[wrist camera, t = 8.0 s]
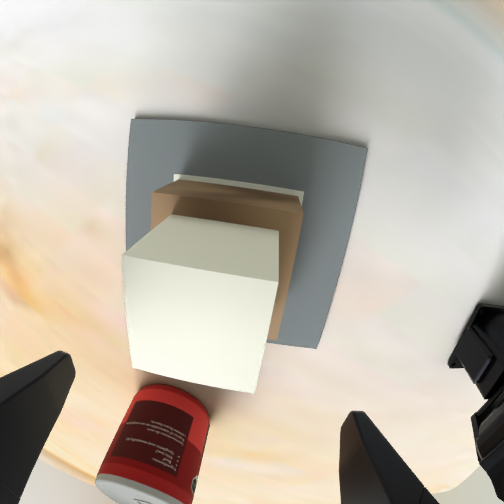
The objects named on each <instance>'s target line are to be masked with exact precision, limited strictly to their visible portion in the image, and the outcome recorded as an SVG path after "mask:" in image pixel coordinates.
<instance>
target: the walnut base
mask: <svg viewBox="0 0 504 504" xmlns="http://www.w3.org/2000/svg"><path fill="white" fill-rule="evenodd" d="M171 214H172V215H180V216H187V217H193V218H200V219H207V220H214V221H221V222H227V223H234V224H240V225H247V226H253V227H259V228H266V229H272V230H278V231H279V283H278V288H277V293H276V298H275V302H274V307H273V312H272V317H271V322H270V326H269V331H268V336H267V339H272V340H277V338H278V333H279V329H280V325H281V320H282V316H283V312H284V307H285V303H286V298H287V294H288V289H289V284H290V280H291V275H292V270H293V265H294V261H295V256H296V251H297V246H298V241H299V236H300V231H301V226H302V220H303V215H304V213H303V210H302V206H301V203H300V200H299V197H298V196H295V195H289V194H283V193H277V192H270V191H264V190H257V189H250V188H243V187H236V186H229V185H221V184H214V183H206V182H197V181H189V180H180V179H178V180H176V181H174V182H172V183H170V184H168V185H165V186H163V187H161V188H159V189H157V190H155V191H153V192H152V201H151V230H152V229H154V228H155V227H156V226H157V225H159V224H160V223H161V222H162V221H164V220H165V219H166V218H167V217H169V216H170V215H171Z"/></svg>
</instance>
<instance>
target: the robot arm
mask: <svg viewBox="0 0 504 504" xmlns="http://www.w3.org/2000/svg"><path fill="white" fill-rule="evenodd" d="M480 310H481V311H480ZM448 366H449V368H465V370H466V372H467V373H468V375H469V377H470V378H471V380H472V382H473V383H474V384H476V386H477V387H478V389H479V391H480V393H481V394H482V396H483V398H484V399H488V401H487V402H486V403H485V404H484V405H483V406H482V407H481V408H480V409H479V410H478V411H477V412H475V413H474V414H473V415H472V416H471V421H472V427H473V433H474V439H475V445H476V452H477V457H478V461H479V464H480V465H481V466H482V468H483V469H484V470H485V471H486V472H487V474H488V476H489V477H490V479H491V481H492V483H493V486H494V489H495V492H496V495H497V497H498V498H499V499H501V500H502V501H503V502H504V306H497V305H489V304H479V305H478V306H477V307H476V309H475V311H474V313H473V315H472V317H471V319H470V321H469V324H468V326H467V328H466V330H465V332H464V334H463V335H462V337H461V339H460V341H459V343H458V345H457V347H456V349H455V350H454V352H453V354H452V356H451V357H450V359H449V361H448ZM74 378H75V368H74V365H73V362H72V358H71V356H70V354H68V353H66V352H63V351H57V352H55V353H52V354H50V355H48V356H46V357H44V358H42V359H40V360H37V361H35V362H33V363H31V364H29V365H27V366H25V367H22V368H20V369H18V370H16V371H14V372H12V373H9V374H7V375H5V376H3V377H1V378H0V504H18V503H19V501H20V497H21V495H22V493H23V491H24V488H25V486H26V483H27V481H28V479H29V477H30V474H31V472H32V470H33V468H34V465H35V463H36V461H37V459H38V457H39V455H40V453H41V450H42V448H43V446H44V444H45V442H46V440H47V438H48V436H49V434H50V432H51V430H52V428H53V426H54V424H55V422H56V420H57V418H58V416H59V414H60V412H61V410H62V408H63V405H64V403H65V400H66V398H67V395H68V393H69V390H70V388H71V385H72V383H73V381H74ZM339 480H340V494H341V504H439V503H438V502H437V500H436V499H434V497H433V496H432V495H431V494H430V492H429V491H428V490H427V489H426V488H425V487H424V485H423V484H422V483H421V481H420V480H419V479H418V478H417V477H416V475H415V474H414V473H413V472H412V470H411V469H410V468H409V467H408V465H407V464H406V463H405V462H404V461H403V459H402V458H401V457H400V456H399V454H398V453H397V452H396V451H395V449H394V448H393V447H392V446H391V444H390V443H389V442H388V441H387V439H386V438H385V437H384V436H383V434H382V433H381V432H380V431H379V429H378V428H377V427H376V426H375V424H374V423H373V422H372V421H371V419H370V418H369V417H368V416H367V414H366V413H365V412H363V411H351V412H350V413H349V414H348V416H347V418H346V420H345V421H344V423H343V425H342V427H341V431H340V459H339Z"/></svg>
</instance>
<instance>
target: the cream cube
mask: <svg viewBox="0 0 504 504" xmlns="http://www.w3.org/2000/svg"><path fill="white" fill-rule="evenodd" d="M122 269H123V286H124V299H125V311H126V321H127V330H128V338H129V346H130V353H131V360H132V367H133V368H136V369H140V370H143V371H147V372H151V373H155V374H158V375H162V376H166V377H171V378H175V379H179V380H183V381H188V382H193V383H197V384H202V385H207V386H212V387H218V388H223V389H229V390H235V391H241V392H247V393H254V394H255V389H256V385H257V381H258V376H259V372H260V367H261V363H262V358H263V354H264V349H265V345H266V340H267V336H268V331H269V326H270V322H271V317H272V312H273V307H274V302H275V298H276V293H277V288H278V283H279V231H278V230H272V229H266V228H259V227H253V226H247V225H240V224H234V223H227V222H221V221H214V220H207V219H200V218H193V217H187V216H180V215H172V214H171V215H170V216H169V217H167V218H166V219H165V220H164V221H162V222H161V223H160V224H159V225H157V226H156V227H155V228H154V229H152V230H151V231H150V232H149V233H148V234H146V235H145V236H144V237H143V238H142V239H140V240H139V241H138V242H137V243H136V244H134V245H133V246H132V247H131V248H130V249H128V250H127V251H126V252H125V253H124V254H123V255H122Z"/></svg>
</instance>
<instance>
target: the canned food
mask: <svg viewBox="0 0 504 504" xmlns="http://www.w3.org/2000/svg"><path fill="white" fill-rule="evenodd" d="M209 426H210V424H209V415H208V412H207V410H206V409H205V407H204V406H203V405H202V404H201V402H200V401H198V400H197V399H196V398H195V397H193V396H192V395H190V394H188V393H187V392H185V391H183V390H180V389H178V388H175V387H172V386H167V385H159V384H155V385H149V386H146V387H144V388H142V389H141V390H140V391H139V392H138V393H137V394H136V395H135V396H134V398H133V400H132V402H131V404H130V406H129V408H128V410H127V412H126V414H125V416H124V418H123V420H122V422H121V424H120V426H119V429H118V431H117V433H116V435H115V437H114V439H113V441H112V443H111V445H110V447H109V449H108V452H107V454H106V456H105V458H104V460H103V462H102V464H101V467H100V469H99V472H98V474H97V478H96V480H95V484H96V486H97V487H98V489H99V490H100V491H102V493H104V494H105V495H106V496H108V497H109V498H110V499H112V500H114V501H115V502H117V503H119V504H192V501H193V497H194V493H195V488H196V484H197V479H198V475H199V470H200V466H201V462H202V457H203V453H204V448H205V444H206V440H207V435H208V431H209Z"/></svg>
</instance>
